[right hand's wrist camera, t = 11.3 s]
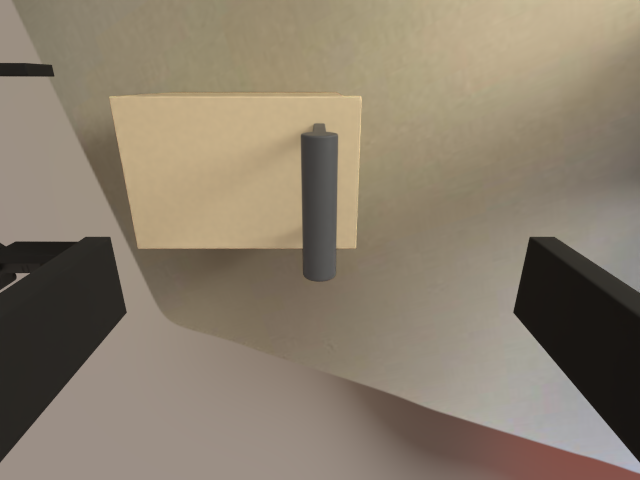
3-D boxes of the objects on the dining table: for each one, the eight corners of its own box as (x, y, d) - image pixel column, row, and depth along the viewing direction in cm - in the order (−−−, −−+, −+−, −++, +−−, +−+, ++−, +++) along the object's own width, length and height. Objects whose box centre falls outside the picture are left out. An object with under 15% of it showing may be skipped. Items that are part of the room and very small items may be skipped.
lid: (360, 95, 24) (379, 101, 16) (354, 242, 28) (368, 306, 20) (117, 95, 24) (19, 102, 16) (144, 242, 28) (74, 306, 20)
